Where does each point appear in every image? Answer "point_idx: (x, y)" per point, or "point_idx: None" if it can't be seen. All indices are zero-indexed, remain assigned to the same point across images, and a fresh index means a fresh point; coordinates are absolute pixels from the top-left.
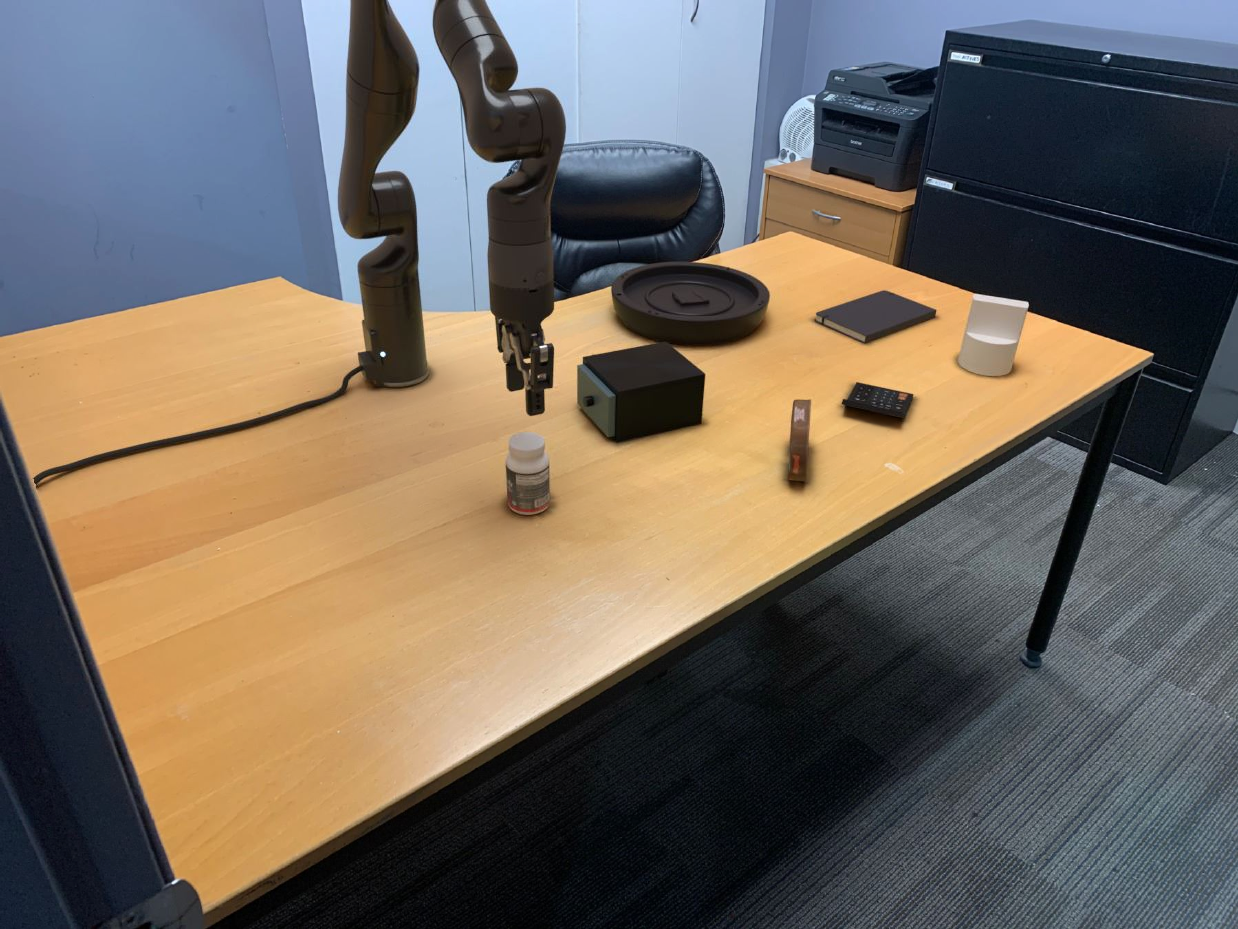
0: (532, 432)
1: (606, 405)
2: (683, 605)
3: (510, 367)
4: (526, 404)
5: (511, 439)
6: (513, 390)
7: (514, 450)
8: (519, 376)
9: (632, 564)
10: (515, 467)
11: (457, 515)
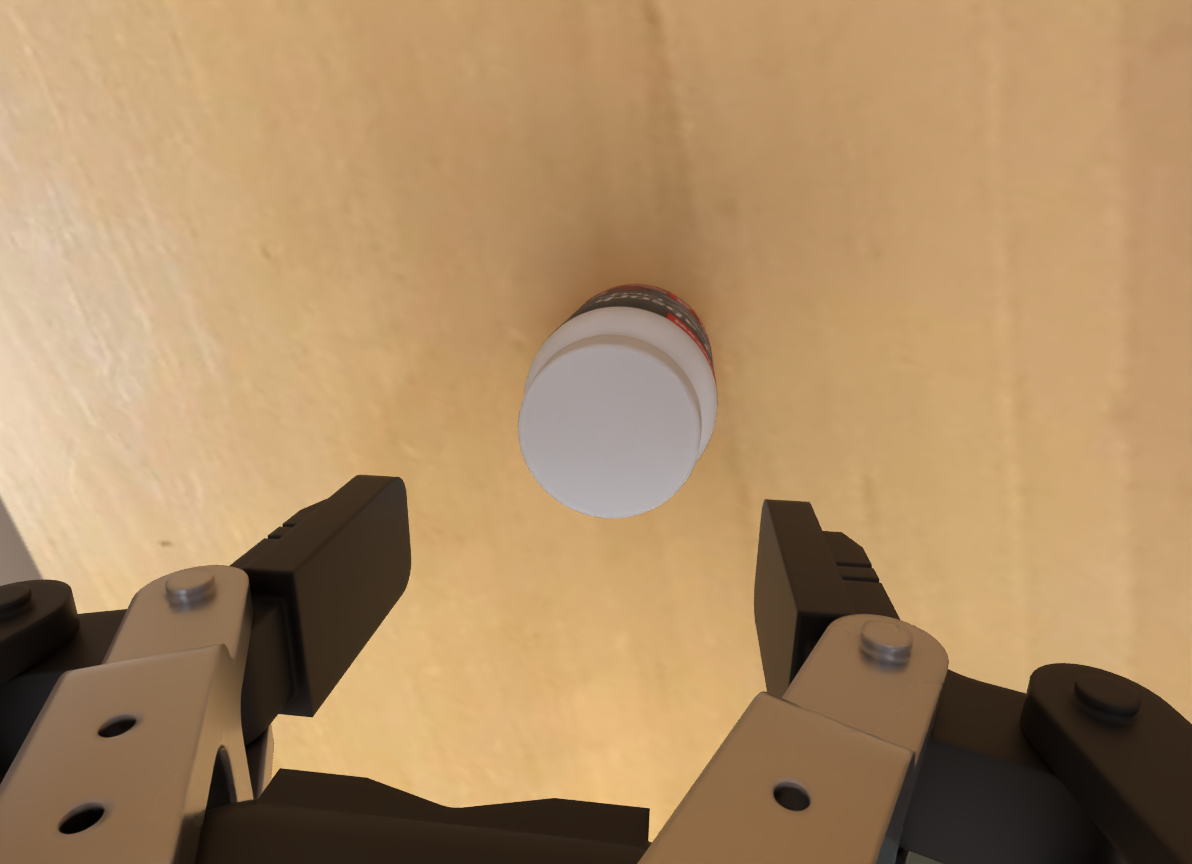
0: (672, 493)
1: (913, 854)
2: (63, 524)
3: (787, 628)
4: (347, 501)
5: (652, 372)
6: (760, 530)
7: (566, 349)
8: (770, 638)
9: (243, 496)
10: (562, 329)
11: (686, 86)
